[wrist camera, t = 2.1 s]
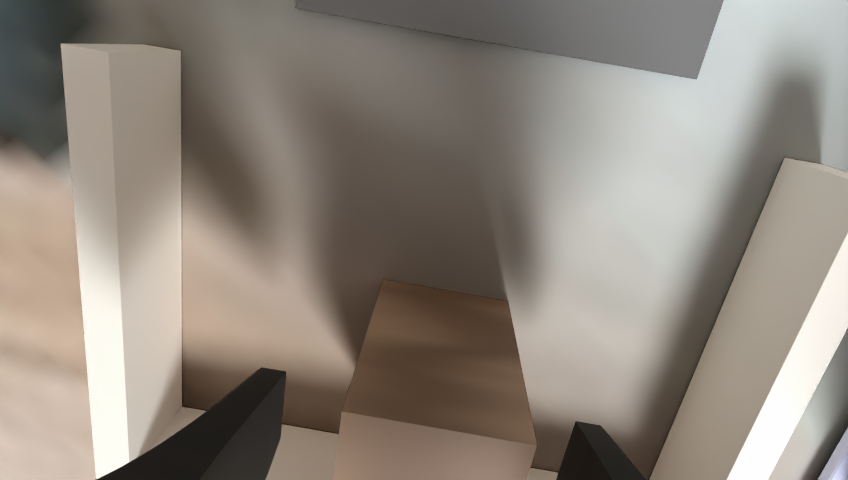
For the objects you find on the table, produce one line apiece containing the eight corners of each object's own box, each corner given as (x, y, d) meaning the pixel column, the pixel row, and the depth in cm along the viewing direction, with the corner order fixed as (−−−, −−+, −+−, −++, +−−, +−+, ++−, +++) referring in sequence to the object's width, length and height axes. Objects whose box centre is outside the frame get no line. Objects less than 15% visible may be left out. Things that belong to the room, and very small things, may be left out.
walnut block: (508, 301, 16) (537, 445, 10) (481, 408, 17) (493, 587, 11) (383, 279, 16) (341, 411, 10) (366, 388, 17) (322, 558, 11)
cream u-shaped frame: (822, 164, 14) (917, 195, 11) (665, 514, 18) (703, 601, 15) (142, 44, 13) (60, 43, 11) (153, 424, 18) (97, 495, 15)
